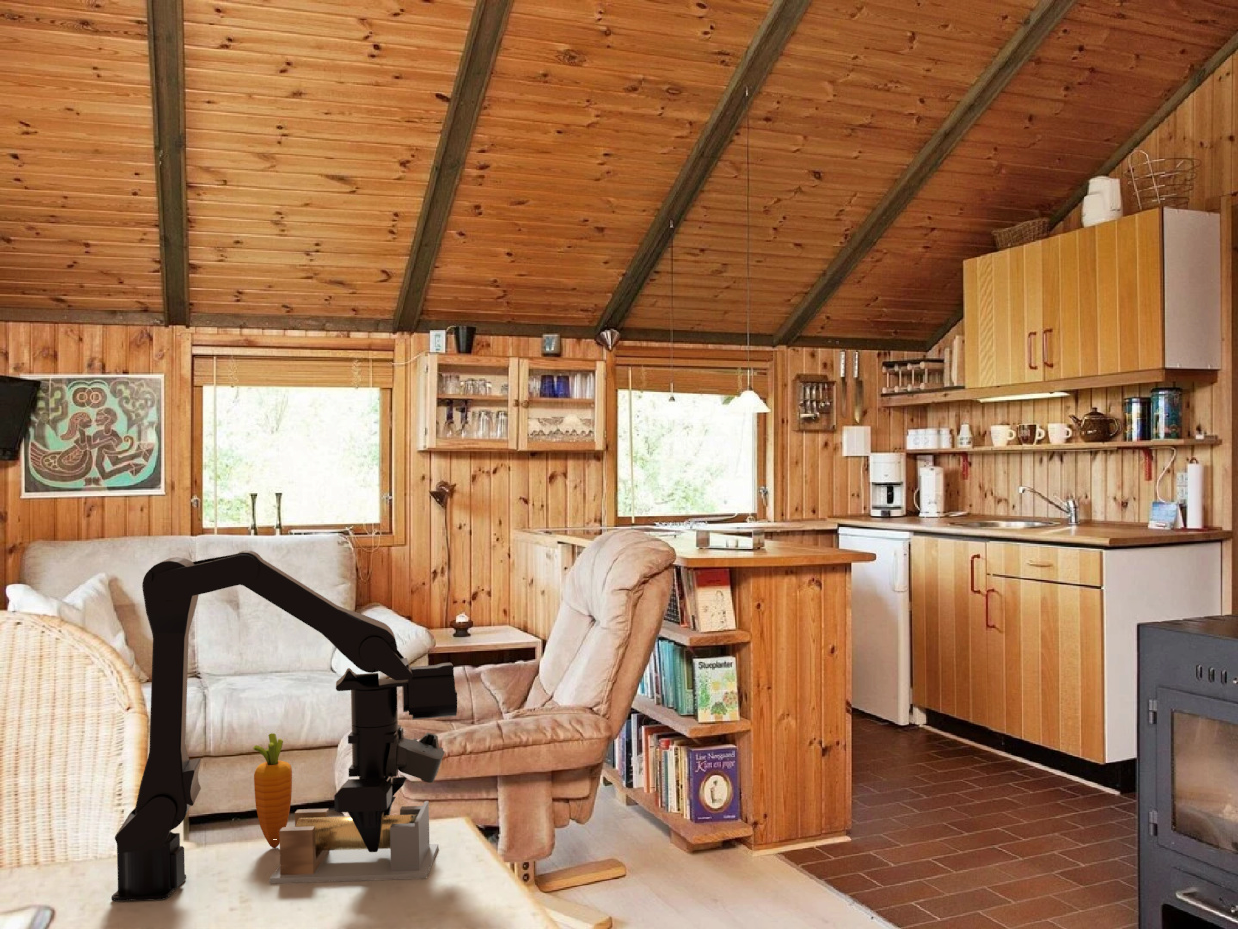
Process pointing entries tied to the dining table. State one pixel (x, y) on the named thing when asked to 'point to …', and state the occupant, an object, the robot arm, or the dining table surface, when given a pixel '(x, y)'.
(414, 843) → the socket
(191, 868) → the dining table surface
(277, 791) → the carrot
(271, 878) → the board
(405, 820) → the tube
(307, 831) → the wooden u-shaped cradle
